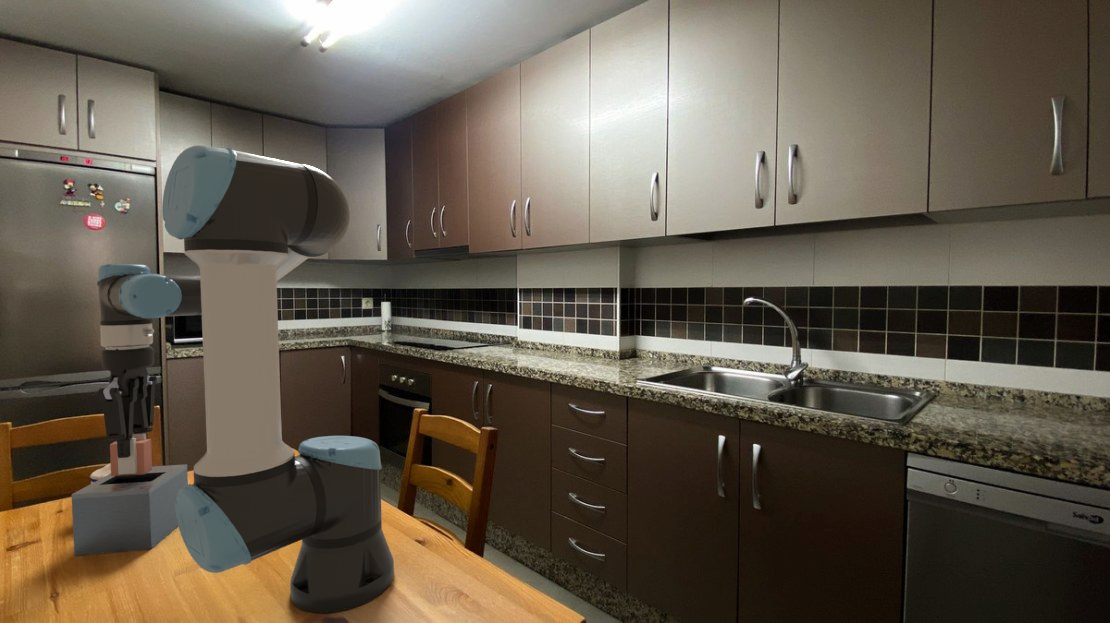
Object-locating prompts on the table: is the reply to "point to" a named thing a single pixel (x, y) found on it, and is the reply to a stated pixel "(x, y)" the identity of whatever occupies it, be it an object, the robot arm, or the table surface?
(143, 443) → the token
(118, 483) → the grey hollow block
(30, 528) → the table surface
